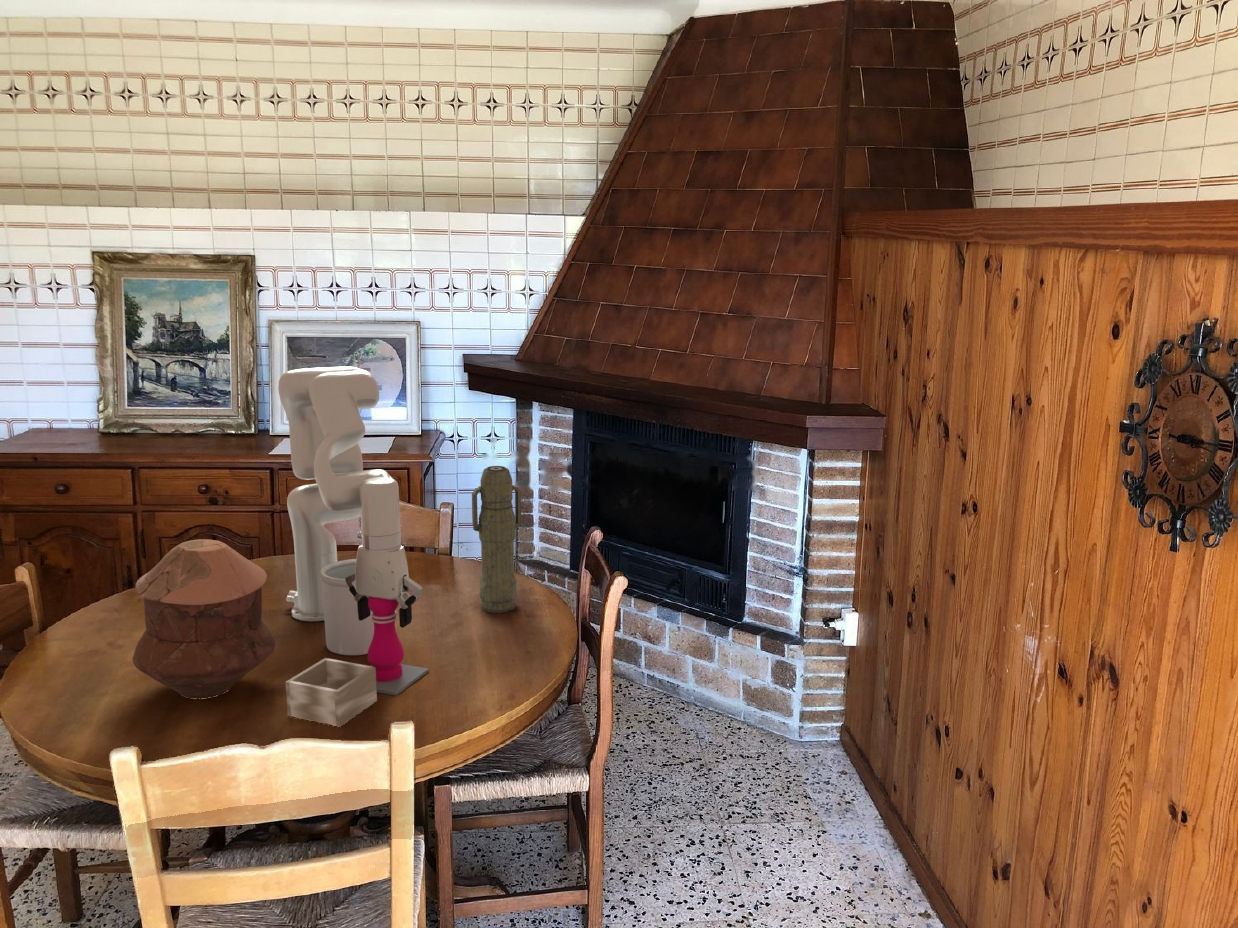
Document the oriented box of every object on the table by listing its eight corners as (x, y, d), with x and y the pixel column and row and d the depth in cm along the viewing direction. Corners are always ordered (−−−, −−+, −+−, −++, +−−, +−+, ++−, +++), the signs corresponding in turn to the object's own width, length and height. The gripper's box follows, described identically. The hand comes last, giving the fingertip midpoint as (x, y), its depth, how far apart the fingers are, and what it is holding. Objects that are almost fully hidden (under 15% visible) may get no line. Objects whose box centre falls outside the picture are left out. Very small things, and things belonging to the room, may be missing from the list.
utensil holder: (371, 625, 221) (368, 553, 217) (406, 644, 210) (403, 569, 207) (312, 642, 211) (307, 567, 207) (346, 663, 200) (341, 584, 196)
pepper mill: (411, 670, 195) (408, 578, 191) (392, 685, 189) (388, 590, 184) (381, 665, 198) (377, 574, 193) (361, 679, 191) (356, 585, 187)
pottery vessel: (133, 676, 193) (118, 535, 186) (265, 652, 205) (256, 519, 198) (141, 731, 170) (124, 573, 164) (288, 701, 183) (278, 552, 176)
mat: (344, 685, 190) (344, 682, 189) (379, 662, 201) (379, 659, 200) (396, 695, 186) (395, 692, 185) (428, 671, 197) (428, 668, 196)
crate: (287, 716, 177) (285, 681, 175) (327, 690, 187) (325, 657, 186) (339, 727, 173) (337, 692, 171) (377, 700, 183) (375, 666, 182)
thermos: (528, 607, 233) (526, 469, 225) (483, 616, 227) (480, 474, 219) (513, 596, 240) (511, 462, 233) (469, 604, 234) (466, 466, 227)
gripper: (332, 540, 186) (337, 622, 190) (408, 550, 180) (411, 634, 184) (355, 530, 193) (359, 609, 197) (429, 539, 187) (432, 621, 191)
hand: (384, 621), depth 190 cm, fingers open, 9 cm apart
